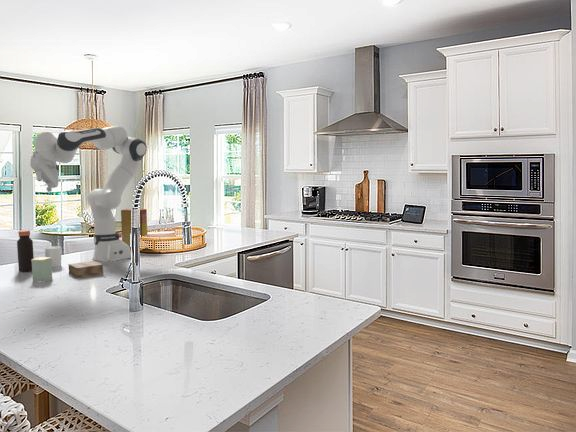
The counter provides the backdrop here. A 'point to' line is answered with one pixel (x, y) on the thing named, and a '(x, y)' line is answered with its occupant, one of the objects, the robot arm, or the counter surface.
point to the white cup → (54, 255)
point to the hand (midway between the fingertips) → (44, 185)
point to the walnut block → (85, 269)
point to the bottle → (25, 251)
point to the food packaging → (127, 224)
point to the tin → (42, 269)
